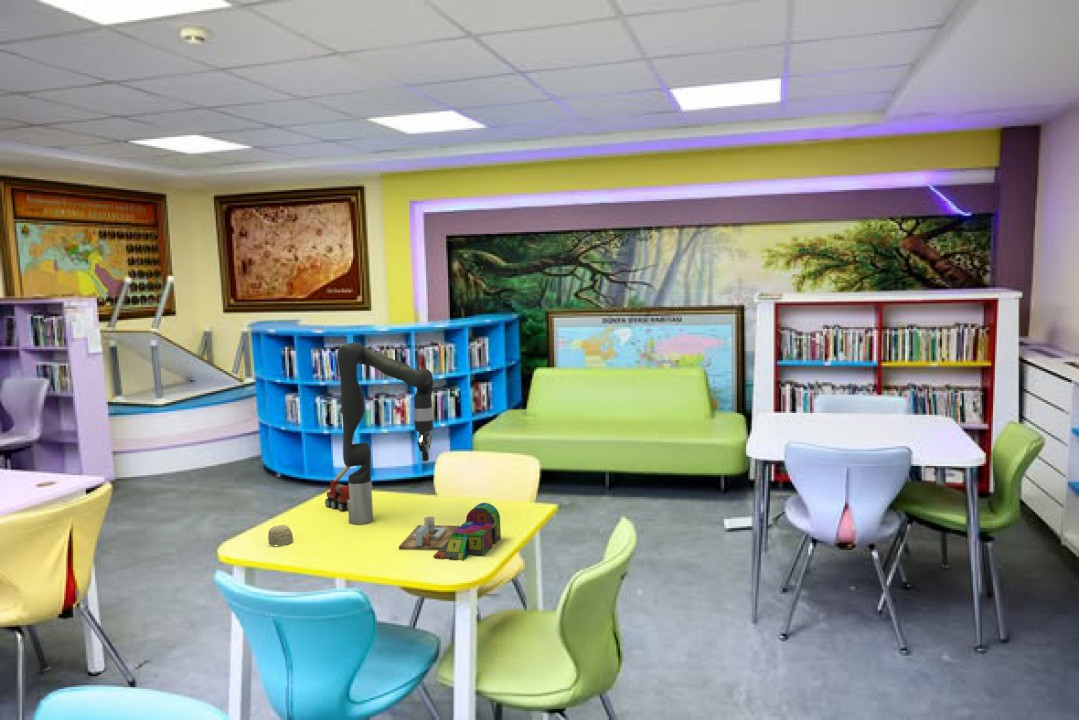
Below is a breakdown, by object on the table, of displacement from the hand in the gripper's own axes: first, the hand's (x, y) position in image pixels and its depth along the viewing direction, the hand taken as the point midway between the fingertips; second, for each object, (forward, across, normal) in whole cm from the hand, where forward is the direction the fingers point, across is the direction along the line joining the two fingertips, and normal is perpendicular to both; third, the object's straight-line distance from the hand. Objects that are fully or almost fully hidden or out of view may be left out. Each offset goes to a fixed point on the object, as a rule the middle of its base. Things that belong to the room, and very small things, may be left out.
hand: (425, 460), depth 317 cm
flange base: (+27, -16, -5) cm, 32 cm away
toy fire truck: (+27, +25, +46) cm, 59 cm away
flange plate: (+25, -20, -5) cm, 33 cm away
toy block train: (+28, -26, -22) cm, 44 cm away
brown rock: (+27, -23, +53) cm, 64 cm away
